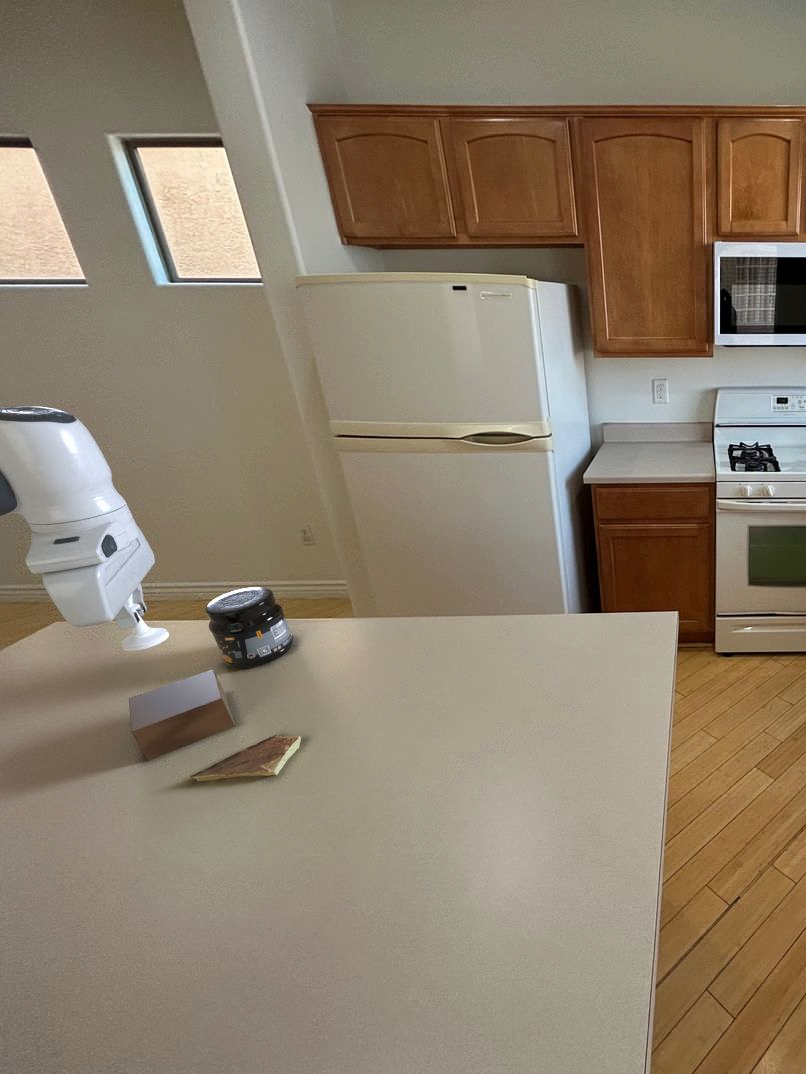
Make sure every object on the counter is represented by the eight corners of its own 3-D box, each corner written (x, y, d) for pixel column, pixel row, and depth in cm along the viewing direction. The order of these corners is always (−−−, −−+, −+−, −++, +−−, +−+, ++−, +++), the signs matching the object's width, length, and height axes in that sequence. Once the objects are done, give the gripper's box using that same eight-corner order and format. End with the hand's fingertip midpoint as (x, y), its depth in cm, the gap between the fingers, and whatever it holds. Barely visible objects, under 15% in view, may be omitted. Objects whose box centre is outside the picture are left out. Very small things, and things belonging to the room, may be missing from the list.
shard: (193, 784, 77) (188, 775, 76) (233, 743, 84) (228, 734, 83) (275, 779, 78) (271, 770, 77) (308, 739, 85) (304, 730, 84)
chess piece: (121, 655, 77) (87, 593, 73) (124, 640, 80) (91, 579, 76) (169, 642, 80) (139, 581, 76) (169, 627, 83) (141, 569, 79)
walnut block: (148, 763, 80) (130, 732, 78) (145, 727, 87) (128, 698, 84) (236, 727, 87) (221, 698, 84) (226, 697, 93) (213, 668, 91)
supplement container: (227, 650, 105) (203, 596, 100) (295, 632, 111) (275, 579, 106) (224, 679, 97) (198, 622, 92) (297, 657, 103) (276, 602, 98)
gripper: (86, 510, 79) (128, 593, 85) (17, 568, 63) (75, 666, 69) (145, 503, 82) (182, 584, 88) (93, 556, 66) (143, 650, 72)
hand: (134, 620), depth 78 cm, fingers closed on chess piece
